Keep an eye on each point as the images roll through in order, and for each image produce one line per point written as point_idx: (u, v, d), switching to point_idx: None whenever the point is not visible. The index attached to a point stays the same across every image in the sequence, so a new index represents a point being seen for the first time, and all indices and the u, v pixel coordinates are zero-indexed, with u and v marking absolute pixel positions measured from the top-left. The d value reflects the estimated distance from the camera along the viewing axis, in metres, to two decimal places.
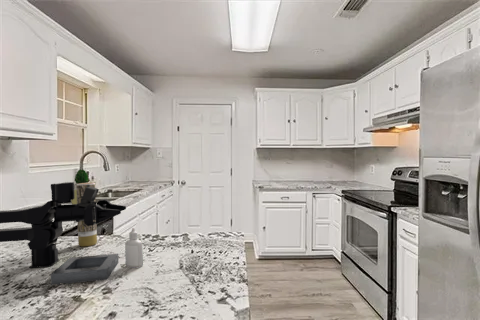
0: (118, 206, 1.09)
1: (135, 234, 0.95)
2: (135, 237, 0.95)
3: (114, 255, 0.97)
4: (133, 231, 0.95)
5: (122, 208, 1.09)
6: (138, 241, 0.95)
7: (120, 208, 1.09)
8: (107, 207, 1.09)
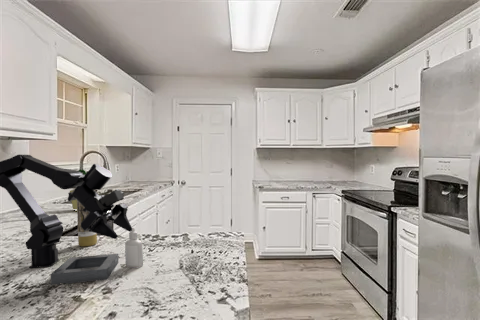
0: (127, 224, 1.01)
1: (135, 234, 0.95)
2: (135, 237, 0.95)
3: (114, 255, 0.97)
4: (133, 231, 0.95)
5: (128, 228, 1.01)
6: (138, 241, 0.95)
7: (127, 226, 1.01)
8: (119, 216, 1.02)
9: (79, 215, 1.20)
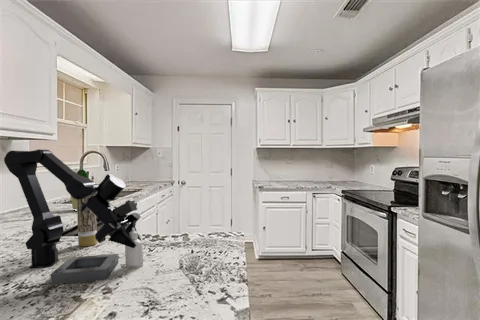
0: None
1: (135, 234, 0.95)
2: (135, 237, 0.95)
3: (114, 255, 0.97)
4: (133, 231, 0.95)
5: None
6: (138, 241, 0.95)
7: None
8: (128, 228, 0.99)
9: (79, 215, 1.20)
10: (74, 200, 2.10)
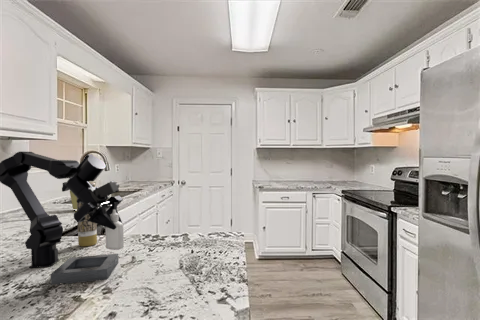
0: None
1: (116, 216, 0.94)
2: (116, 219, 0.93)
3: (114, 255, 0.97)
4: (114, 213, 0.94)
5: None
6: (119, 223, 0.93)
7: None
8: (109, 210, 0.97)
9: None
10: (74, 200, 2.10)
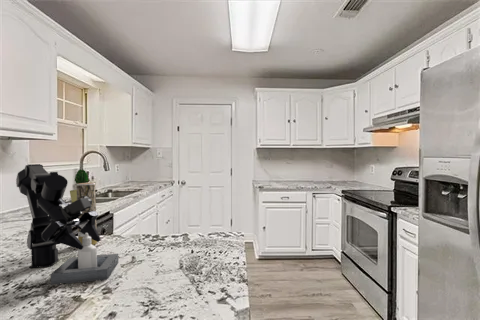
0: (94, 233, 0.95)
1: (88, 239, 0.90)
2: (88, 242, 0.90)
3: (114, 255, 0.97)
4: (86, 236, 0.90)
5: (96, 238, 0.95)
6: (92, 247, 0.90)
7: (95, 236, 0.95)
8: (87, 225, 0.96)
9: None
10: (74, 200, 2.10)
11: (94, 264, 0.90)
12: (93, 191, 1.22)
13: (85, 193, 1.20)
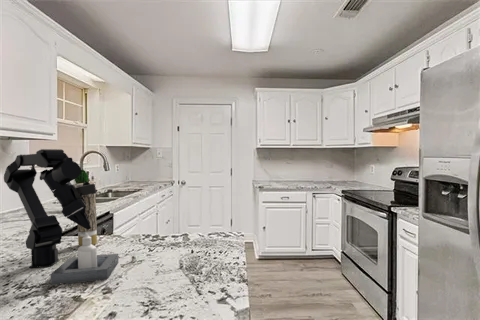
0: (86, 217, 1.03)
1: (88, 239, 0.90)
2: (88, 242, 0.90)
3: (114, 255, 0.97)
4: (86, 236, 0.91)
5: None
6: (92, 247, 0.90)
7: None
8: None
9: None
10: None
11: (94, 264, 0.90)
12: None
13: None
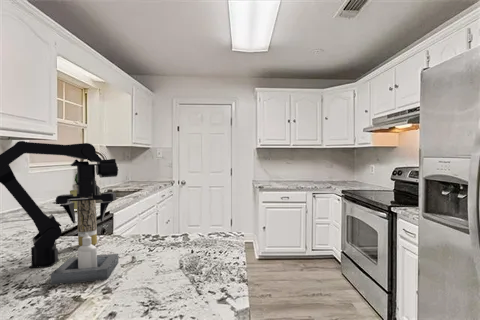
0: (74, 215, 1.08)
1: (88, 239, 0.90)
2: (88, 242, 0.90)
3: (114, 255, 0.97)
4: (86, 236, 0.91)
5: (74, 219, 1.07)
6: (92, 247, 0.90)
7: (74, 217, 1.07)
8: (72, 204, 1.08)
9: (79, 215, 1.20)
10: None
11: (94, 264, 0.90)
12: None
13: None
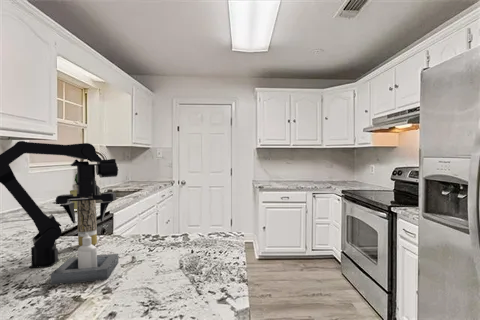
0: (74, 215, 1.08)
1: (88, 239, 0.90)
2: (88, 242, 0.90)
3: (114, 255, 0.97)
4: (86, 236, 0.91)
5: (74, 219, 1.07)
6: (92, 247, 0.90)
7: (74, 217, 1.08)
8: (72, 204, 1.08)
9: (79, 215, 1.20)
10: None
11: (94, 264, 0.90)
12: None
13: None
